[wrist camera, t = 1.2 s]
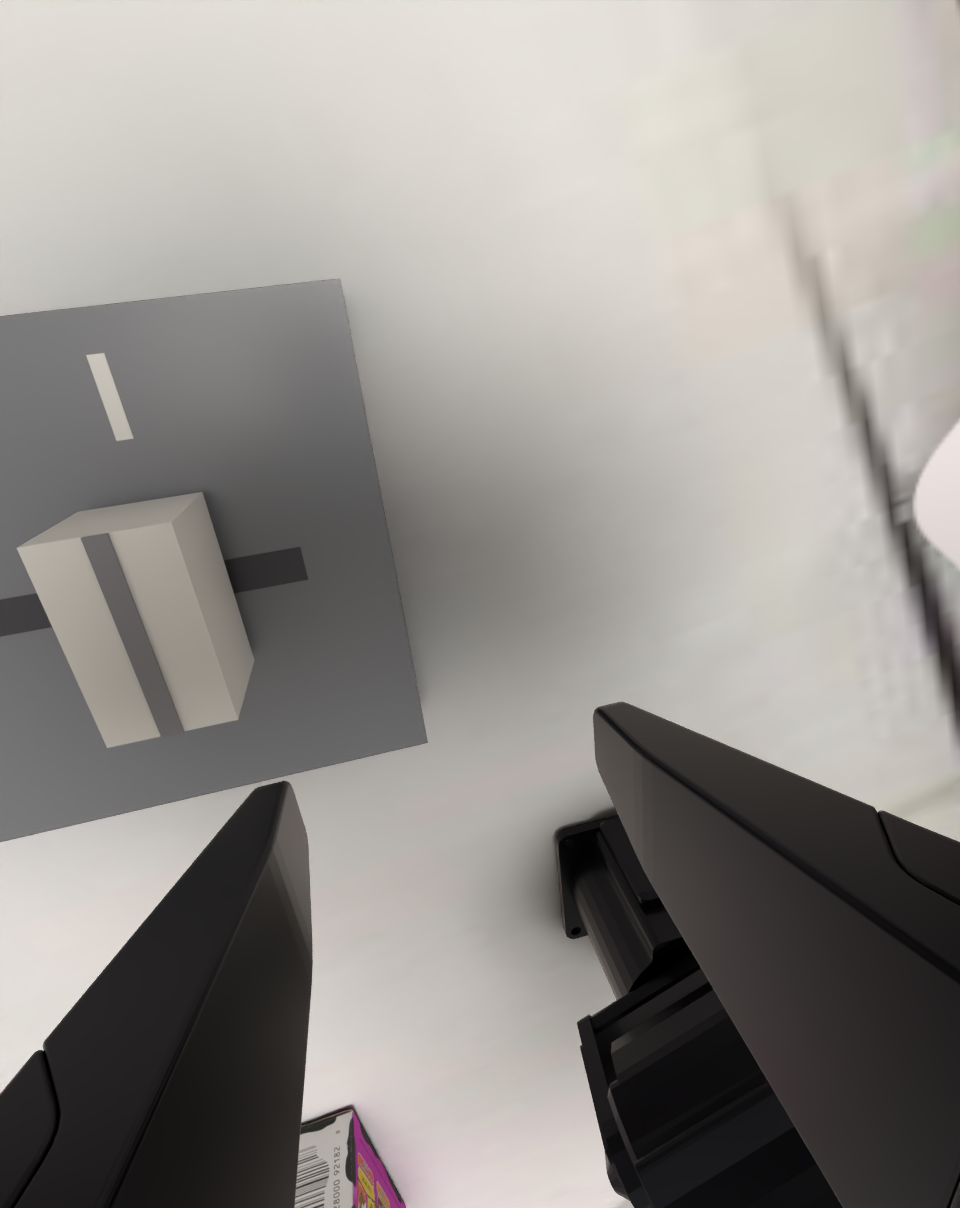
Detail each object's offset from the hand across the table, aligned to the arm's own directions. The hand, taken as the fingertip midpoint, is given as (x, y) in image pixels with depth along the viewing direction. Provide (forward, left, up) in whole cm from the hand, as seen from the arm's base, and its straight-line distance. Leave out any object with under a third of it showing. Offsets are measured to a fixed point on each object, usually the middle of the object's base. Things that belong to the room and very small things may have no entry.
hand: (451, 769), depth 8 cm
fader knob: (0, +6, -10) cm, 12 cm away
